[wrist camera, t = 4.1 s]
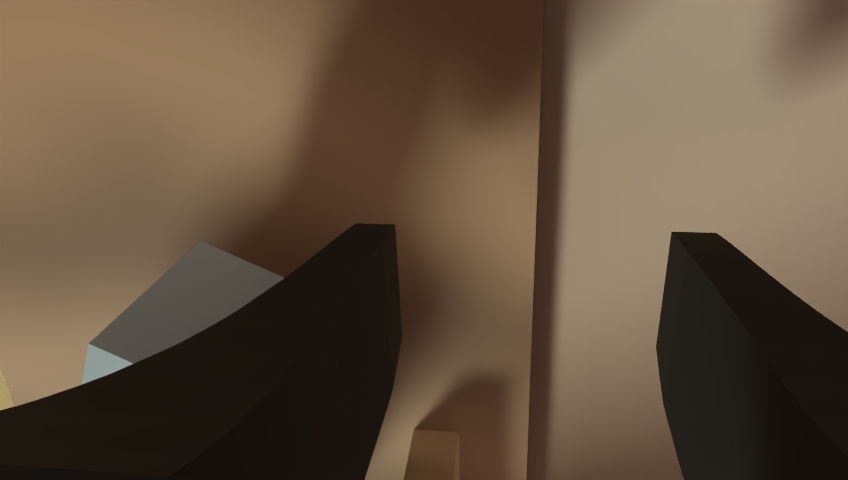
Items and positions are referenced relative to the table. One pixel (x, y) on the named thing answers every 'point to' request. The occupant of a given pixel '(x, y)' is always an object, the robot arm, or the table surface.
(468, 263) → the cradle
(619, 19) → the table surface
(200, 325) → the grey block
